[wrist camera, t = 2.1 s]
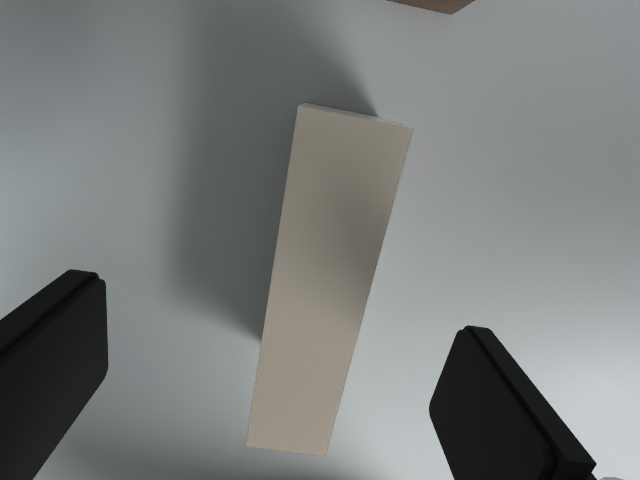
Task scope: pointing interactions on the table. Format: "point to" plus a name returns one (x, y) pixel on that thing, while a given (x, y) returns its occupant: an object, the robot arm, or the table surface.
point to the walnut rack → (437, 4)
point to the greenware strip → (322, 271)
